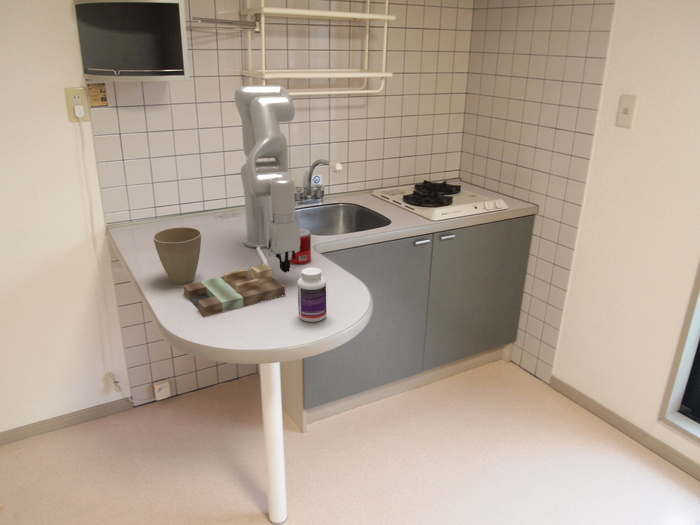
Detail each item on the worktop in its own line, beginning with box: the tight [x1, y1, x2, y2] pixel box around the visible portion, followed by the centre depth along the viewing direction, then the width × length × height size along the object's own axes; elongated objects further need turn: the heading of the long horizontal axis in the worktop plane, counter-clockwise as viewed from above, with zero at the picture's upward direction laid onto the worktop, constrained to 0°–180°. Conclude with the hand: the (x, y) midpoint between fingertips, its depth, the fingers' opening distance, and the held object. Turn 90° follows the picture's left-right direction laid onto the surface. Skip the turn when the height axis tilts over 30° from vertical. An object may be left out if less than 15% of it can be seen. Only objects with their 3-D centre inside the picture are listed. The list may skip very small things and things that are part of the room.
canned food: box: [290, 228, 312, 265], centre depth 203 cm, size 8×8×11 cm
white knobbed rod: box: [256, 247, 274, 275], centre depth 204 cm, size 28×4×3 cm, turn 17°
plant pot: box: [152, 226, 202, 285], centre depth 185 cm, size 15×15×16 cm
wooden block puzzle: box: [182, 269, 286, 317], centre depth 177 cm, size 26×18×6 cm
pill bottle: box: [297, 267, 327, 323], centre depth 162 cm, size 8×8×14 cm
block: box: [250, 263, 273, 284], centre depth 181 cm, size 5×5×4 cm
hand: (285, 270), depth 186 cm, fingers closed
